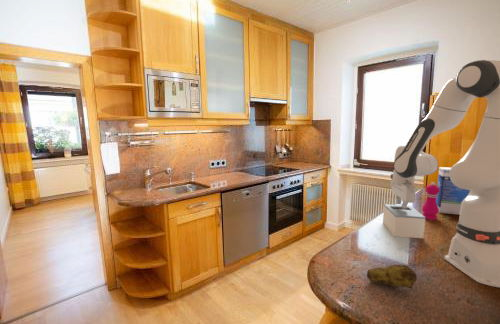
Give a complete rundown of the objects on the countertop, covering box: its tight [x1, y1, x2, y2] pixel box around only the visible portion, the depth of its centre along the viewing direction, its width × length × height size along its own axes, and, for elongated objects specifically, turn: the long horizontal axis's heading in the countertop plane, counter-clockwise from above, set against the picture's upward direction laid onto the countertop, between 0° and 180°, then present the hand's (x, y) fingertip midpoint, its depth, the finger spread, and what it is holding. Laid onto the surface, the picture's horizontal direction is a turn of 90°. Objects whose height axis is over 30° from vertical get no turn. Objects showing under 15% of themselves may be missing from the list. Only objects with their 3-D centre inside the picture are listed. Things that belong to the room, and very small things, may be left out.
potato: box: [366, 264, 418, 289], centre depth 78 cm, size 8×13×8 cm, turn 40°
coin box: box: [382, 203, 426, 239], centre depth 119 cm, size 16×12×10 cm
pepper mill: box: [421, 181, 439, 221], centre depth 134 cm, size 7×7×20 cm
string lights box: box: [436, 166, 470, 216], centre depth 142 cm, size 13×8×26 cm, turn 68°
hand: (401, 206), depth 121 cm, fingers open, 5 cm apart
